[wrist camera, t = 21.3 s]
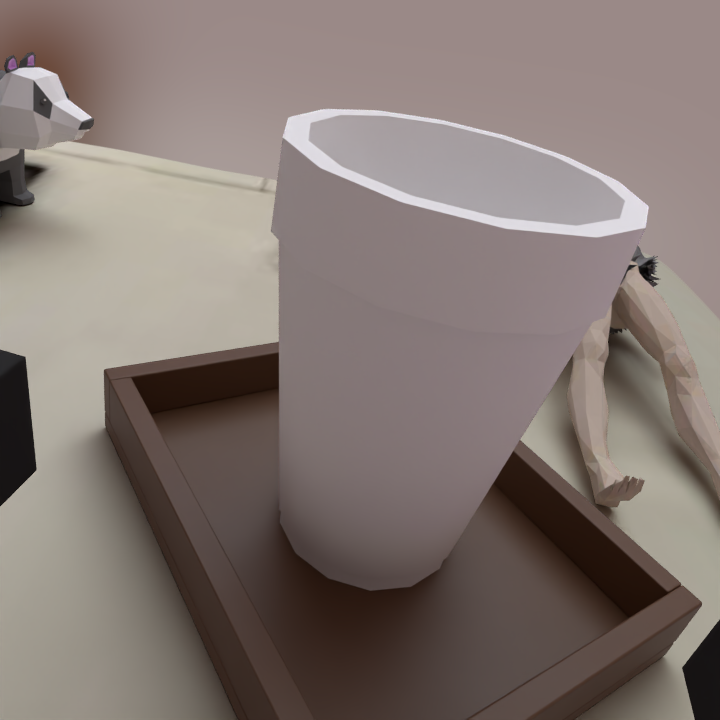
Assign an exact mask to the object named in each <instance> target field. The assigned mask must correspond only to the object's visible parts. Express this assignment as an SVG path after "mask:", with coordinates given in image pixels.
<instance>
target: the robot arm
mask: <svg viewBox="0 0 720 720" xmlns="http://www.w3.org/2000/svg"><path fill="white" fill-rule="evenodd" d="M36 470H37V469H36V459H35V449H34V439H33V429H32V419H31V409H30V399H29V389H28V378H27V368H26V358H25V357H24V356H20V355H17V354H13V353H10V352H6V351H3V350H0V506H1V505H2V504H3V503H4V502H5V501H6V500H7V499H8V498H9V497H10V496H11V495H12V494H13V493H14V492H15V491H16V490H17V489H18V488H19V487H20V486H21V485H22V484H23V483H24V482H25V481H26V480H27V479H28V478H29V477H30V476H31V475H32V474H33V473H34V472H35V471H36ZM682 669H683V673H684V677H685V681H686V685H687V689H688V693H689V697H690V701H691V705H692V709H693V714H694V718H695V720H720V620H719V621H718V622H717V624H716V625H715V626H714V628H713V629H712V630H711V631H710V633H709V634H708V635H707V637H706V638H705V639H704V640H703V642H702V643H701V644H700V646H699V647H698V648H697V649H696V651H695V652H694V653H693V655H692V656H691V657H690V658H689V660H688V661H687V662H686V664H685V665H684V666H683V667H682Z"/></svg>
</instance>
